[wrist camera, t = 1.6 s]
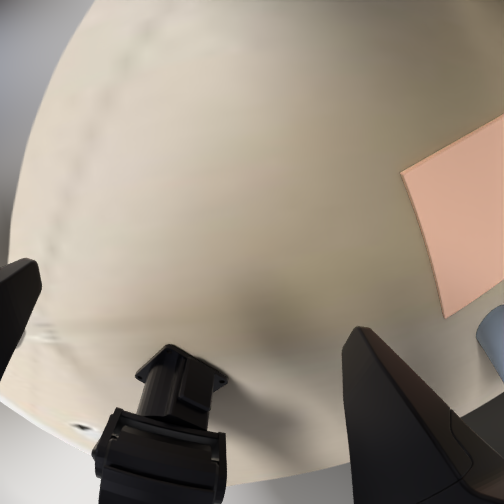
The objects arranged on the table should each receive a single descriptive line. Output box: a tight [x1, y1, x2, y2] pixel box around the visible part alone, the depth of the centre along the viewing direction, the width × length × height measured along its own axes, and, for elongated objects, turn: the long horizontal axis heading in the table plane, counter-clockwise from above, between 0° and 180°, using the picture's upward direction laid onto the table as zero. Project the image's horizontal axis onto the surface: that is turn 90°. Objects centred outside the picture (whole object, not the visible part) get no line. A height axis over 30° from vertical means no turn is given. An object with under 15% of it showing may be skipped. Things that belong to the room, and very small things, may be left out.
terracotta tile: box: [400, 114, 504, 319], centre depth 17 cm, size 14×14×1 cm
